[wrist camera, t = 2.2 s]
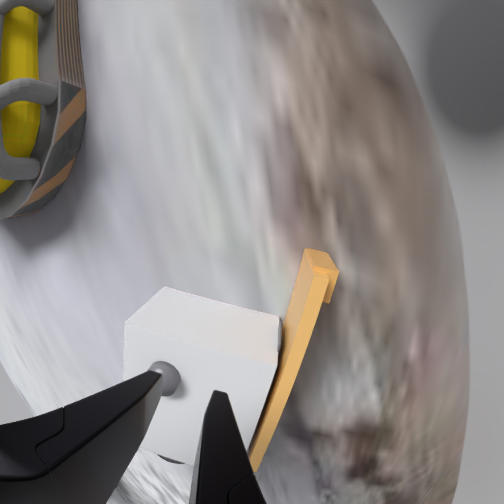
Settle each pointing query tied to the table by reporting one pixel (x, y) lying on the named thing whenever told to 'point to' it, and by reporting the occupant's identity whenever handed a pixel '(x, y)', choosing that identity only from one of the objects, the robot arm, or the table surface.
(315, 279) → the side door
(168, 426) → the block
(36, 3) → the cage light
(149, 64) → the table surface
